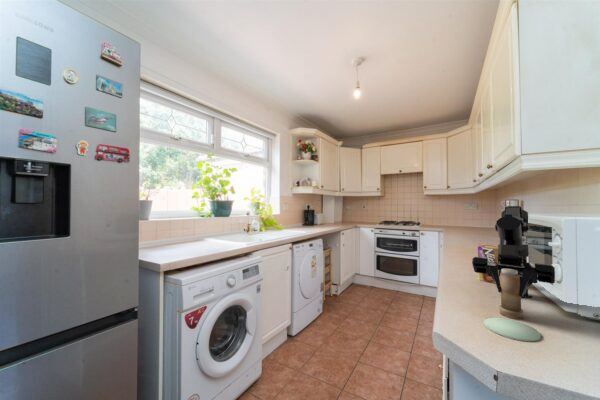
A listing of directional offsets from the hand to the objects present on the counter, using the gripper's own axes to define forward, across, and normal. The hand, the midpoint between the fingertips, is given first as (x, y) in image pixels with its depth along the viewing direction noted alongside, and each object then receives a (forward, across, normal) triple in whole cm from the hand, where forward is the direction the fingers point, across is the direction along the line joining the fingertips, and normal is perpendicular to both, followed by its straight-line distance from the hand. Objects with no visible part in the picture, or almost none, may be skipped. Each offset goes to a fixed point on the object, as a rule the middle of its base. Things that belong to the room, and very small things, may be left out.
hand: (510, 293), depth 69 cm
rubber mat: (+11, 0, -2) cm, 11 cm away
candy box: (-20, -7, +30) cm, 37 cm away
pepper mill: (+4, 0, +6) cm, 7 cm away
